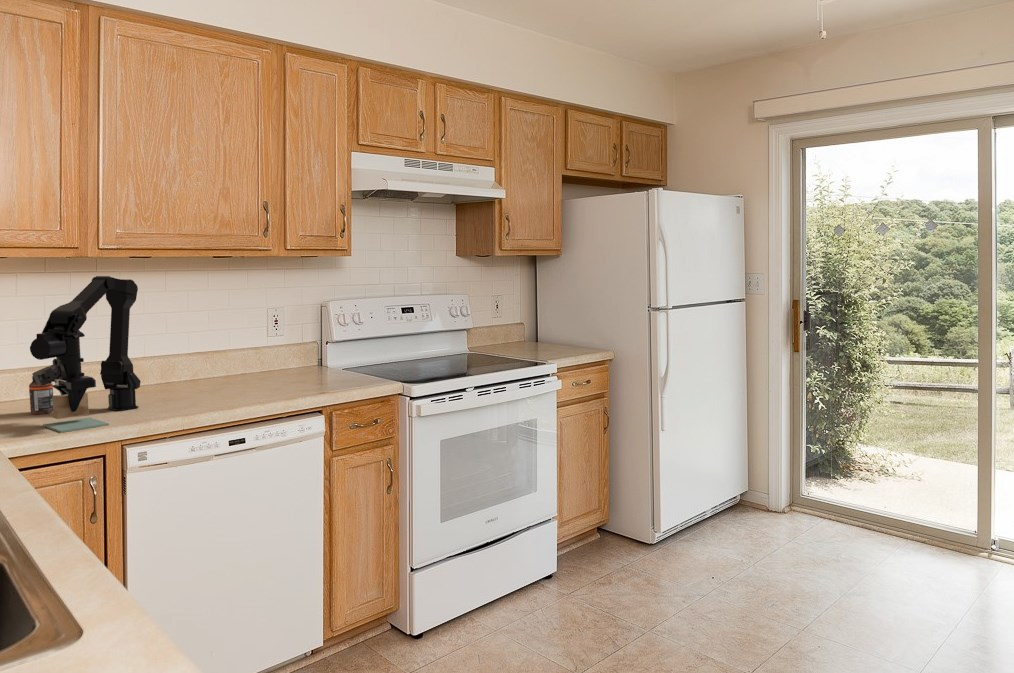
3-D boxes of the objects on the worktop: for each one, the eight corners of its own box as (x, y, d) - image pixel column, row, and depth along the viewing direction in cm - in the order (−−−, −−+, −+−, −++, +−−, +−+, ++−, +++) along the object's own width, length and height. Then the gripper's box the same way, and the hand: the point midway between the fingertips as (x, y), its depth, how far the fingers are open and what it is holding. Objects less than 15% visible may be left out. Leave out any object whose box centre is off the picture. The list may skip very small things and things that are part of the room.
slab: (84, 413, 206) (83, 392, 205) (88, 414, 204) (87, 393, 204) (53, 418, 200) (52, 396, 199) (57, 419, 198) (56, 397, 197)
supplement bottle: (31, 411, 218) (28, 374, 217) (54, 410, 221) (52, 373, 220) (30, 415, 213) (27, 377, 212) (54, 413, 216) (51, 375, 215)
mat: (89, 419, 209) (89, 417, 209) (108, 424, 202) (108, 423, 202) (43, 426, 200) (42, 424, 200) (61, 432, 192) (60, 430, 192)
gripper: (22, 354, 200) (25, 411, 201) (49, 361, 188) (53, 420, 190) (66, 351, 208) (69, 404, 210) (95, 356, 197) (98, 413, 199)
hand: (71, 410), depth 202 cm, fingers closed on slab, 2 cm apart
